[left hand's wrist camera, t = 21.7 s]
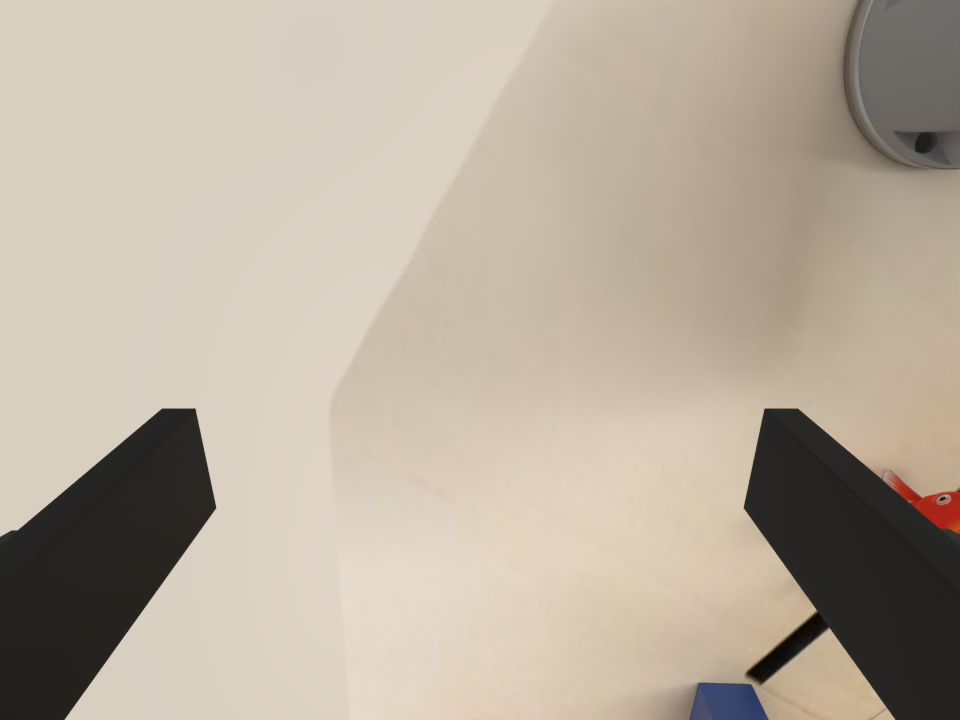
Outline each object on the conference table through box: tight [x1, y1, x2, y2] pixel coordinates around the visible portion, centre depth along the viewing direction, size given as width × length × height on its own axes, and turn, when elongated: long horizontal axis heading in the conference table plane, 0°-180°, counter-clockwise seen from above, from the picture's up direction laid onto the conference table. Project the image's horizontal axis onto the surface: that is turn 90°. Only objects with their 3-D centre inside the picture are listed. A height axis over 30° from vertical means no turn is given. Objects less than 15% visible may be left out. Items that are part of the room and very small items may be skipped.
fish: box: [882, 471, 960, 534], centre depth 44 cm, size 11×16×10 cm
